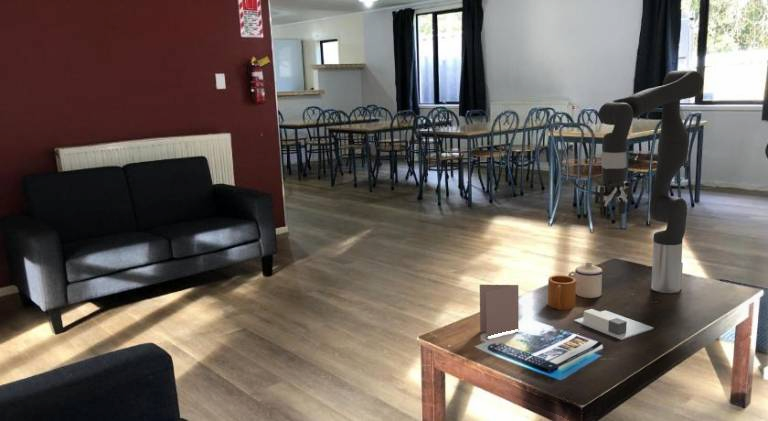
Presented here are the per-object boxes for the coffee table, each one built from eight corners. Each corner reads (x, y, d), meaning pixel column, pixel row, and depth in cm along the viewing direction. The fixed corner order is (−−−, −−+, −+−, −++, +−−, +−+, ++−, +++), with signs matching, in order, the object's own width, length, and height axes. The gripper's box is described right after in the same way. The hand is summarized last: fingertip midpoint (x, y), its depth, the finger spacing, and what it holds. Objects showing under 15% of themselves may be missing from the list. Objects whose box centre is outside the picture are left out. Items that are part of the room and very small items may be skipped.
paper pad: (605, 311, 205) (605, 310, 205) (653, 328, 190) (653, 327, 189) (574, 321, 198) (574, 319, 198) (621, 339, 183) (621, 338, 183)
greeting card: (518, 331, 192) (518, 284, 189) (519, 341, 185) (519, 292, 182) (480, 330, 194) (479, 283, 191) (479, 340, 187) (479, 291, 184)
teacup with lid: (606, 293, 222) (607, 260, 219) (595, 300, 215) (596, 267, 213) (573, 286, 230) (574, 255, 227) (562, 293, 223) (562, 262, 221)
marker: (581, 320, 197) (581, 310, 197) (588, 318, 199) (588, 307, 198) (618, 335, 185) (618, 324, 184) (626, 332, 187) (626, 321, 186)
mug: (539, 309, 209) (539, 283, 207) (554, 298, 218) (554, 273, 217) (565, 314, 204) (565, 287, 202) (579, 303, 213) (580, 277, 211)
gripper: (619, 162, 209) (618, 210, 212) (589, 167, 202) (588, 216, 205) (638, 164, 203) (637, 214, 206) (608, 169, 196) (606, 220, 199)
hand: (612, 215), depth 206 cm, fingers open, 8 cm apart
